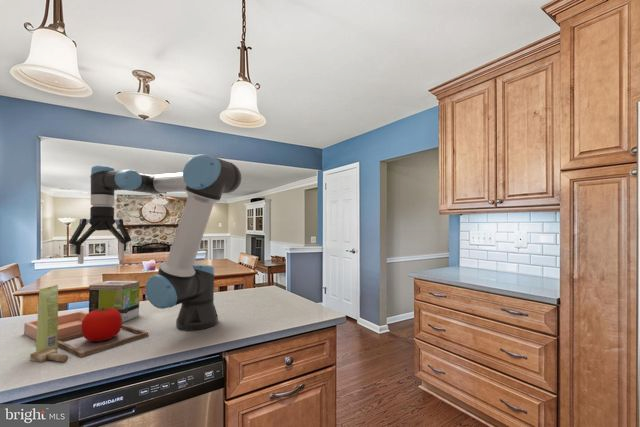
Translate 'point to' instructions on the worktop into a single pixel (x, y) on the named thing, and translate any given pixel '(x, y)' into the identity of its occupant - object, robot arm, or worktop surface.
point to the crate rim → (103, 347)
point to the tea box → (116, 297)
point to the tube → (47, 319)
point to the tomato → (101, 324)
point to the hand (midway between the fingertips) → (101, 261)
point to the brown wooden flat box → (59, 325)
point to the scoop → (48, 355)
